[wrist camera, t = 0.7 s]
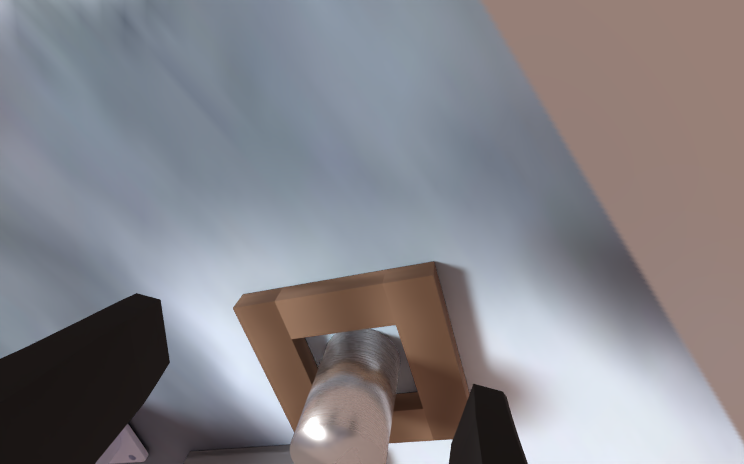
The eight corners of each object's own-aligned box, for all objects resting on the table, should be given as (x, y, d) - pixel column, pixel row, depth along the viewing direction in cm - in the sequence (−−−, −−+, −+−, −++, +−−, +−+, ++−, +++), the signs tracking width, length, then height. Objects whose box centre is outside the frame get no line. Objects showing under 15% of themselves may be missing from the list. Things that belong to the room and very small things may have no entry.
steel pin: (339, 389, 25) (308, 492, 20) (315, 332, 23) (275, 427, 18) (408, 382, 24) (396, 489, 18) (388, 322, 22) (369, 420, 17)
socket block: (308, 431, 27) (302, 448, 26) (243, 294, 23) (232, 308, 22) (476, 418, 24) (477, 437, 23) (434, 261, 20) (433, 275, 19)
